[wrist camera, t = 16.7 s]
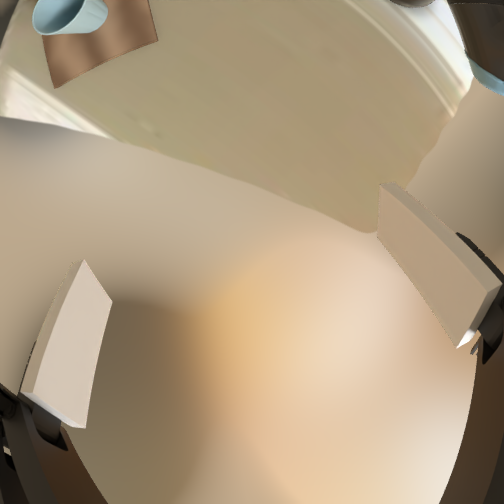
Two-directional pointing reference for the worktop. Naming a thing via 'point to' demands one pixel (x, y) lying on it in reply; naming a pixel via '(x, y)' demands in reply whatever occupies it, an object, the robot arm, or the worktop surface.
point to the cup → (68, 16)
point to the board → (100, 40)
